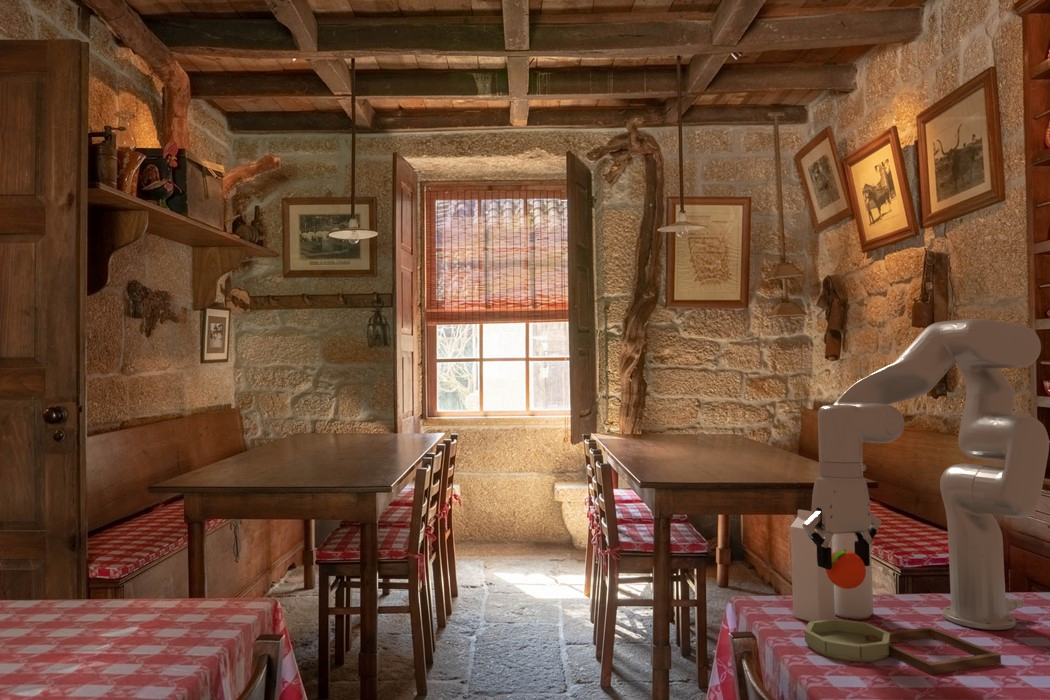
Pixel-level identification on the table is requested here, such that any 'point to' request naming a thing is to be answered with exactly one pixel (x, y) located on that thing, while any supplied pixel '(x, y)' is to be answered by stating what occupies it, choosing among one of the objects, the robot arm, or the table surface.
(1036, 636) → the table surface
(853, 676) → the table surface
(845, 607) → the alcohol
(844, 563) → the clementine
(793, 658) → the table surface
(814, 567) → the milk
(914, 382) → the robot arm
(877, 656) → the dish
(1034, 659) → the table surface
